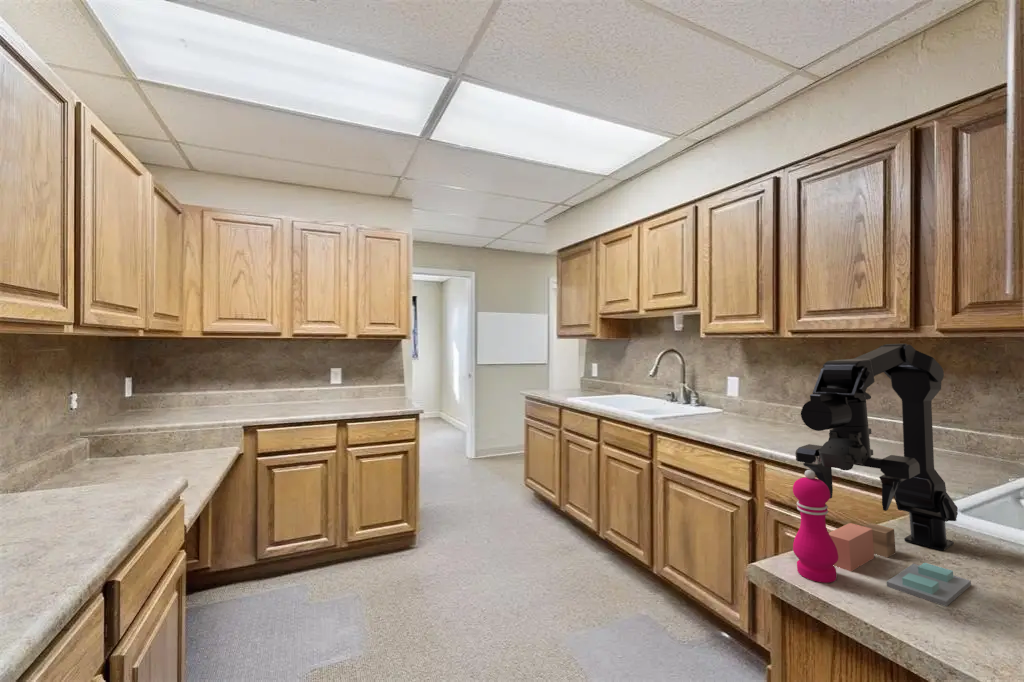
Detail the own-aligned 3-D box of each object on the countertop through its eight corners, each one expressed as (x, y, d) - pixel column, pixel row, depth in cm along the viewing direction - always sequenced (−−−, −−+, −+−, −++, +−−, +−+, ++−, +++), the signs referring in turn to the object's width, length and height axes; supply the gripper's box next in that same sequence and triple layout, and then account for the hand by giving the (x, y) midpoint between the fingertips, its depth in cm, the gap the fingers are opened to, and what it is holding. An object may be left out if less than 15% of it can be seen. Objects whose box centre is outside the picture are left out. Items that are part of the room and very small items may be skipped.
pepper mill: (796, 579, 84) (789, 473, 84) (792, 563, 90) (786, 464, 91) (843, 587, 80) (835, 476, 81) (836, 569, 87) (829, 466, 87)
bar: (851, 551, 94) (849, 522, 95) (874, 558, 91) (872, 528, 91) (827, 564, 89) (825, 534, 89) (850, 572, 86) (848, 540, 86)
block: (872, 546, 96) (871, 523, 96) (895, 553, 93) (894, 528, 93) (864, 551, 94) (862, 527, 94) (887, 558, 91) (885, 533, 91)
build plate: (913, 567, 86) (912, 557, 86) (971, 585, 79) (970, 573, 79) (886, 586, 80) (886, 574, 80) (946, 606, 73) (945, 594, 73)
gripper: (778, 425, 91) (784, 501, 91) (892, 436, 75) (900, 529, 75) (806, 417, 97) (812, 489, 96) (917, 427, 81) (924, 513, 80)
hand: (856, 503), depth 87 cm, fingers open, 9 cm apart
